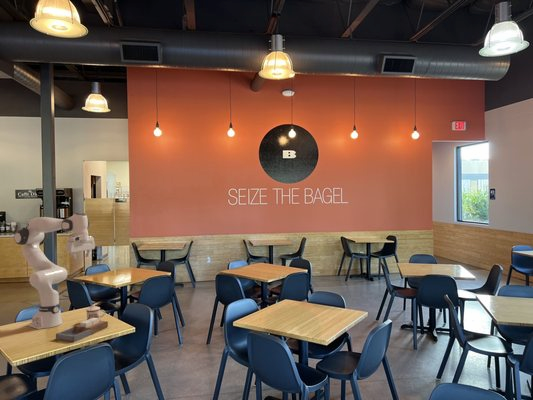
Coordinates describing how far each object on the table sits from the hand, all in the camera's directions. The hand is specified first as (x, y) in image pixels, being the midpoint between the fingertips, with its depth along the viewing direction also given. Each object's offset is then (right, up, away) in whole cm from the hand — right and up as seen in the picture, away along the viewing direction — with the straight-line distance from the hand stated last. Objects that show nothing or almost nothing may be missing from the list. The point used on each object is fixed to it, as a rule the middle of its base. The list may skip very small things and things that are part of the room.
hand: (81, 257), depth 247 cm
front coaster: (+6, -44, -5) cm, 44 cm away
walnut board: (+7, -48, -1) cm, 48 cm away
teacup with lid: (+2, -48, +17) cm, 51 cm away
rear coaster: (+8, -44, +1) cm, 44 cm away
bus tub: (+2, -48, -14) cm, 50 cm away
